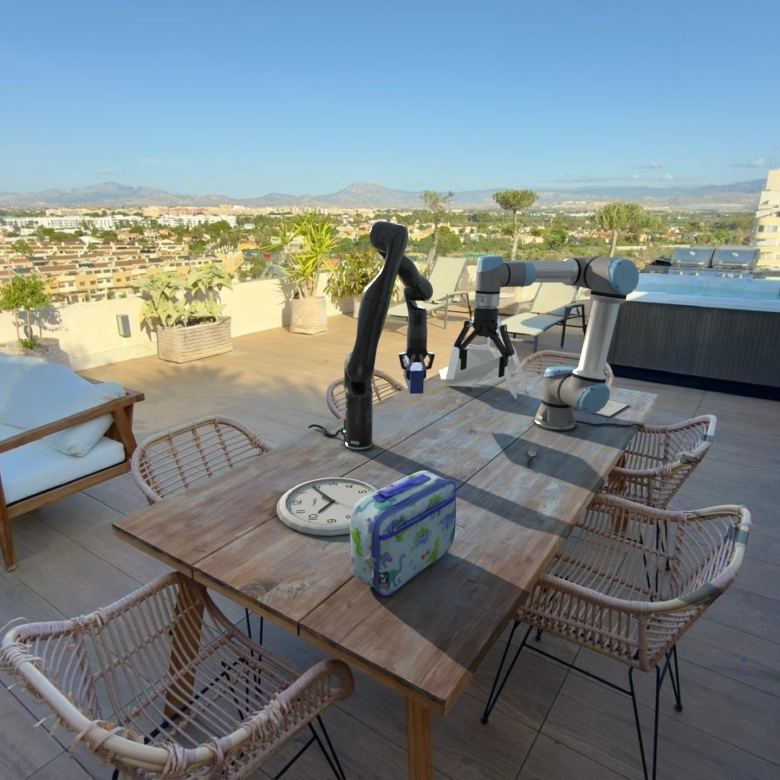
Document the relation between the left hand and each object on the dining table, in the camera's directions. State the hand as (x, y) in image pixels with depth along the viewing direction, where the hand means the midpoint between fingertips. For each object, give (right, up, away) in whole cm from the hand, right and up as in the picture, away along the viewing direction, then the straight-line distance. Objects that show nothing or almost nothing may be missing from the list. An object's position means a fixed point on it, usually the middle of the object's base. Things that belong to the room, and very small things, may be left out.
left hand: (415, 379), depth 199 cm
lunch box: (-7, -44, -82) cm, 94 cm away
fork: (+37, -27, -27) cm, 53 cm away
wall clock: (-26, -36, -56) cm, 72 cm away
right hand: (+20, +1, -30) cm, 36 cm away
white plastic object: (+32, -5, +44) cm, 54 cm away
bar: (-1, -2, +10) cm, 10 cm away
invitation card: (+82, -11, +27) cm, 87 cm away
